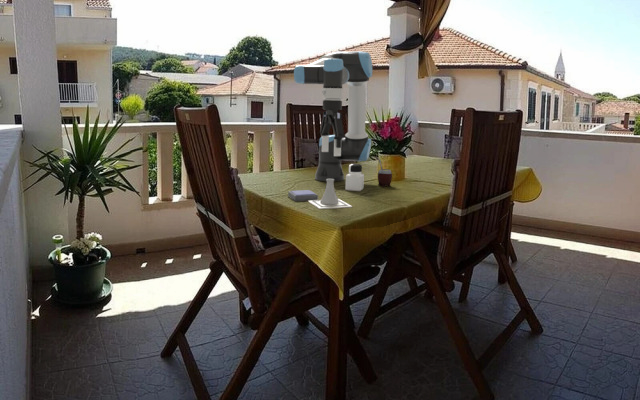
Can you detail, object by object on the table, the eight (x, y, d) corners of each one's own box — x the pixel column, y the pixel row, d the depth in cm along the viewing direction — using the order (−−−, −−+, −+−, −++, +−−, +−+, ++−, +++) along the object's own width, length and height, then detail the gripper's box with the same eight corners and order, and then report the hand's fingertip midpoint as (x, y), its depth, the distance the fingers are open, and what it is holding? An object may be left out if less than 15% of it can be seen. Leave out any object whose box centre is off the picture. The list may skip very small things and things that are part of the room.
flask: (327, 200, 205) (327, 177, 203) (341, 203, 201) (342, 179, 199) (317, 203, 199) (317, 179, 197) (331, 206, 195) (332, 181, 193)
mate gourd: (393, 185, 245) (394, 155, 242) (388, 188, 238) (390, 157, 235) (378, 183, 248) (380, 154, 245) (373, 186, 242) (375, 156, 238)
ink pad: (310, 195, 217) (310, 189, 217) (317, 199, 208) (317, 194, 207) (288, 196, 214) (288, 190, 213) (295, 201, 205) (295, 195, 204)
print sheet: (339, 199, 209) (339, 198, 209) (352, 207, 196) (352, 205, 196) (307, 201, 204) (308, 200, 204) (319, 209, 192) (319, 207, 191)
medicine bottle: (363, 188, 235) (364, 163, 232) (359, 191, 228) (360, 165, 226) (349, 187, 237) (350, 162, 235) (345, 190, 231) (346, 164, 228)
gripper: (312, 98, 202) (311, 150, 206) (335, 100, 179) (333, 158, 183) (329, 99, 204) (328, 150, 209) (354, 100, 181) (352, 157, 186)
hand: (330, 153), depth 196 cm, fingers open, 13 cm apart
